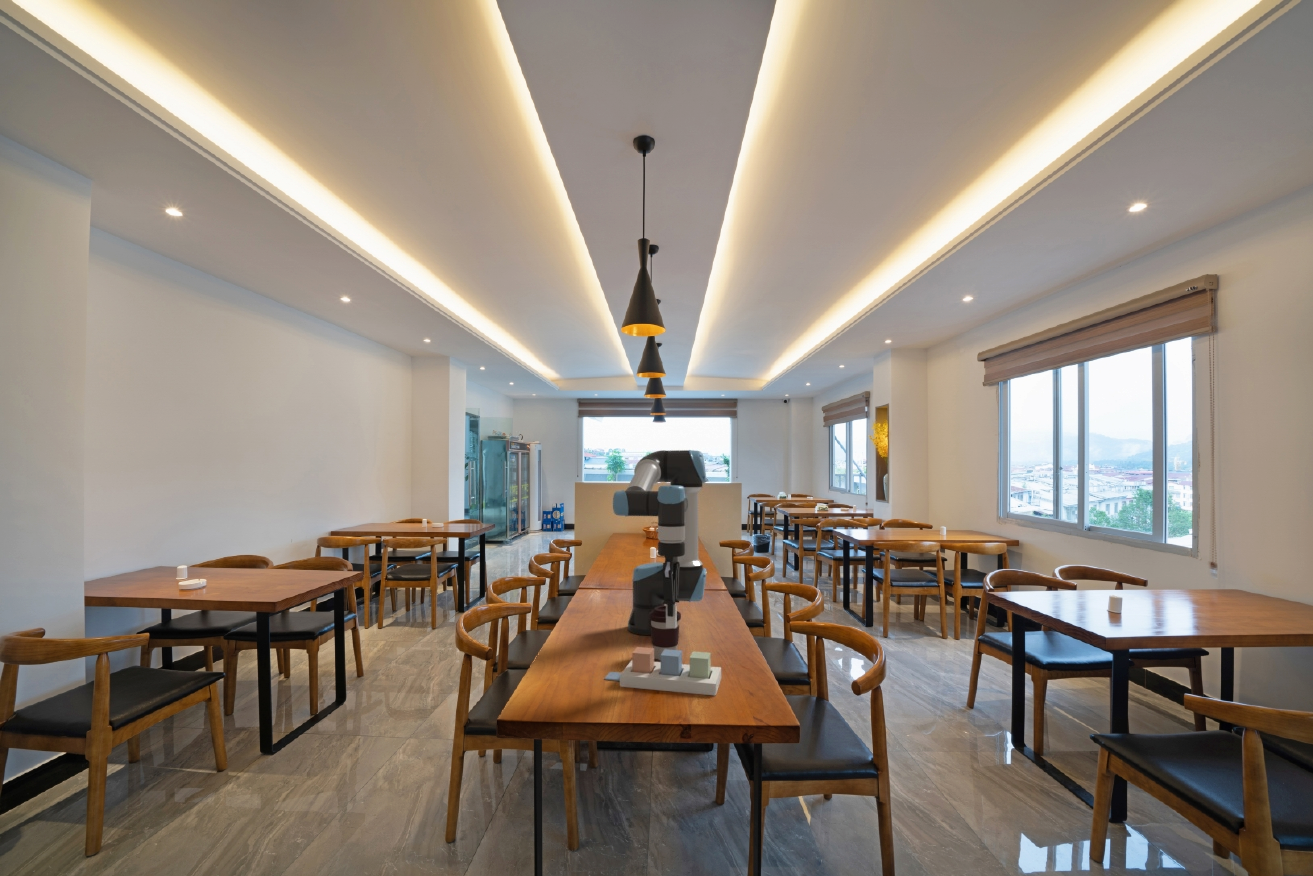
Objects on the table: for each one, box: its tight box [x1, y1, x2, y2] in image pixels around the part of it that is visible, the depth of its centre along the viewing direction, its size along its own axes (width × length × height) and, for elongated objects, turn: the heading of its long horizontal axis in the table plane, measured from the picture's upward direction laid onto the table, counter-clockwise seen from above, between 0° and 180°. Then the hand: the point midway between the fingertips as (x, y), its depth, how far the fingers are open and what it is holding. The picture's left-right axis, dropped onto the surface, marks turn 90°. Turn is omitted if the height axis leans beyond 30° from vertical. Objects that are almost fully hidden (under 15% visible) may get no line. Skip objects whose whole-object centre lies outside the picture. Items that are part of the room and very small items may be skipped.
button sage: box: [689, 651, 712, 679], centre depth 153 cm, size 5×5×5 cm
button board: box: [619, 659, 722, 697], centre depth 155 cm, size 12×26×3 cm, turn 77°
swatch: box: [604, 671, 622, 682], centre depth 158 cm, size 5×5×1 cm
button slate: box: [660, 649, 683, 676], centre depth 155 cm, size 5×5×5 cm
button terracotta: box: [631, 646, 655, 673], centre depth 157 cm, size 5×5×5 cm
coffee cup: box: [649, 605, 682, 661], centre depth 175 cm, size 10×10×15 cm
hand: (671, 627), depth 155 cm, fingers closed
